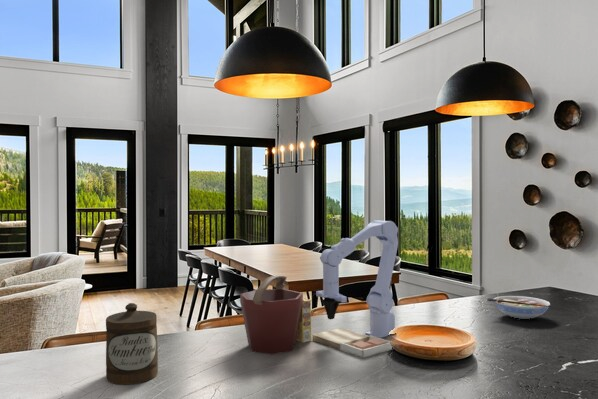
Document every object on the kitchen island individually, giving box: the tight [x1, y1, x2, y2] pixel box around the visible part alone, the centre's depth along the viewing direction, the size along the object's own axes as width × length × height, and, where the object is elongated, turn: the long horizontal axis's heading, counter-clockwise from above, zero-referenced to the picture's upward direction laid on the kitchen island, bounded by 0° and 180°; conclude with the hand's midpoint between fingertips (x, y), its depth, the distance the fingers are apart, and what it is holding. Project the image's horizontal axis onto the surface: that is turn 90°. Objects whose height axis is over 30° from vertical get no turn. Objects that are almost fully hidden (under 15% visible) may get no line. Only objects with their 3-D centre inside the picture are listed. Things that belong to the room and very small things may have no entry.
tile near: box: [367, 338, 387, 347], centre depth 179 cm, size 5×5×2 cm
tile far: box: [351, 341, 372, 350], centre depth 175 cm, size 5×5×2 cm
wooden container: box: [105, 302, 159, 386], centre depth 154 cm, size 15×15×22 cm
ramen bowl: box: [486, 295, 552, 320], centre depth 222 cm, size 25×23×8 cm
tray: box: [339, 334, 393, 359], centre depth 179 cm, size 15×11×2 cm
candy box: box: [296, 297, 312, 344], centre depth 191 cm, size 9×4×15 cm, turn 33°
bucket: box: [239, 275, 304, 355], centre depth 182 cm, size 24×22×25 cm
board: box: [311, 327, 369, 351], centre depth 189 cm, size 15×15×2 cm
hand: (331, 318), depth 188 cm, fingers closed
